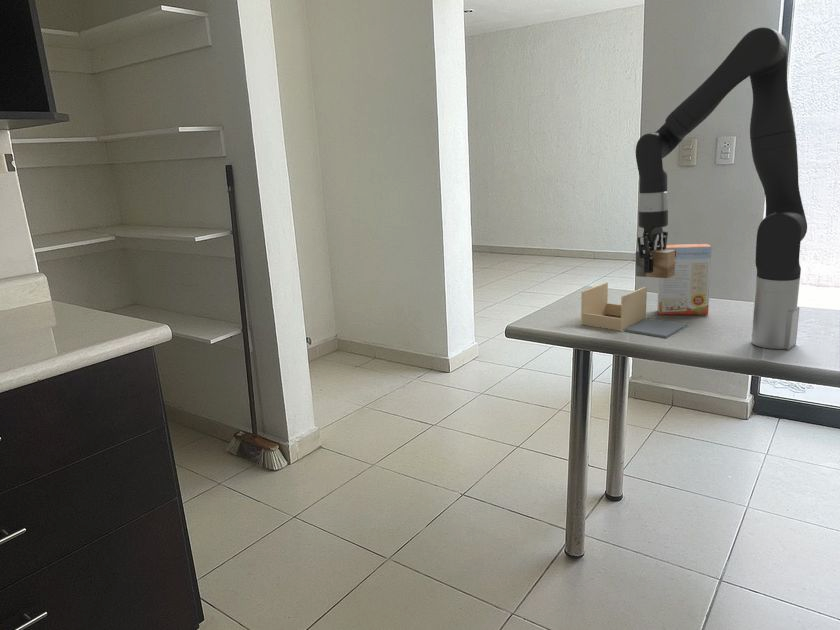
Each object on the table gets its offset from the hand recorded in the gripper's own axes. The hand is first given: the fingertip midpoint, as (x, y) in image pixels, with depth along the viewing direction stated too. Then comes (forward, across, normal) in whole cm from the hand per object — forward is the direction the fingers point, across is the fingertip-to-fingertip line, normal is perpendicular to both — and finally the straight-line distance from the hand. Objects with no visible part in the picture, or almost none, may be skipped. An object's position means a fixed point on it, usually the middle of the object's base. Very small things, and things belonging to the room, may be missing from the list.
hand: (652, 270), depth 168 cm
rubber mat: (+17, 0, -1) cm, 17 cm away
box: (+1, 0, -1) cm, 2 cm away
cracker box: (+17, +20, 0) cm, 26 cm away
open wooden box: (+16, 0, +12) cm, 20 cm away
